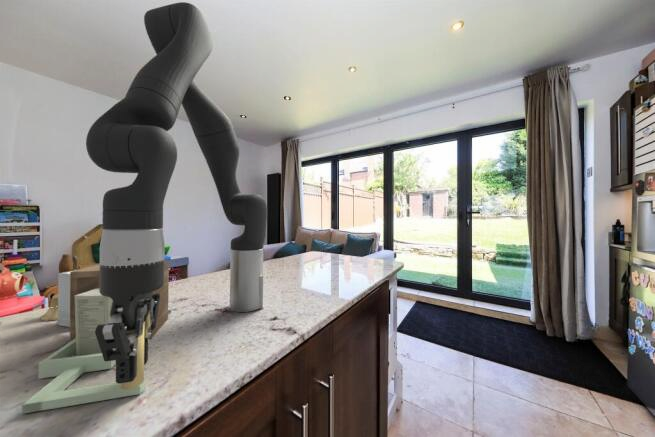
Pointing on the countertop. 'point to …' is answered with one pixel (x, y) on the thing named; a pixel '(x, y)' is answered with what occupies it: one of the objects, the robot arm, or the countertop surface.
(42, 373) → the green zigzag lever
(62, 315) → the supplement box
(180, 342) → the countertop surface
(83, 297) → the skincare box
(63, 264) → the hand bell
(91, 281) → the brown hollow box
